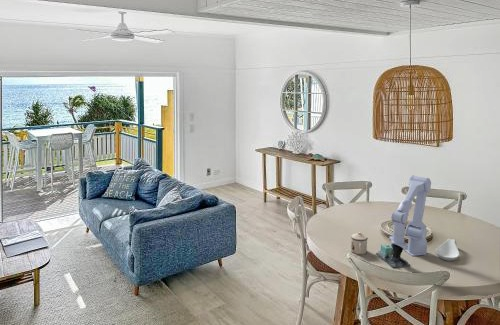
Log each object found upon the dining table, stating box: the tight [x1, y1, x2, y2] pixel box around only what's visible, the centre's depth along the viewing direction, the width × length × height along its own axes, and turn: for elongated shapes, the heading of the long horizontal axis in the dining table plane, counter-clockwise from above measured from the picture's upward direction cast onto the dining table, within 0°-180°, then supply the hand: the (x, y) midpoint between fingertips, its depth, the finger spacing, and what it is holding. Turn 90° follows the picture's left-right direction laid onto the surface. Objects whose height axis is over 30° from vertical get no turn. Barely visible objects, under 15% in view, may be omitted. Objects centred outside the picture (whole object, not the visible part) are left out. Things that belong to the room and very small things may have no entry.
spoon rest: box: [435, 238, 460, 262], centre depth 220 cm, size 24×12×7 cm, turn 145°
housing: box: [380, 243, 392, 255], centre depth 219 cm, size 5×5×5 cm
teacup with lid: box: [350, 231, 369, 255], centre depth 224 cm, size 12×9×12 cm
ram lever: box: [388, 248, 399, 261], centre depth 214 cm, size 4×6×6 cm, turn 11°
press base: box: [375, 250, 411, 269], centre depth 215 cm, size 10×18×2 cm, turn 11°
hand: (397, 257), depth 210 cm, fingers closed
